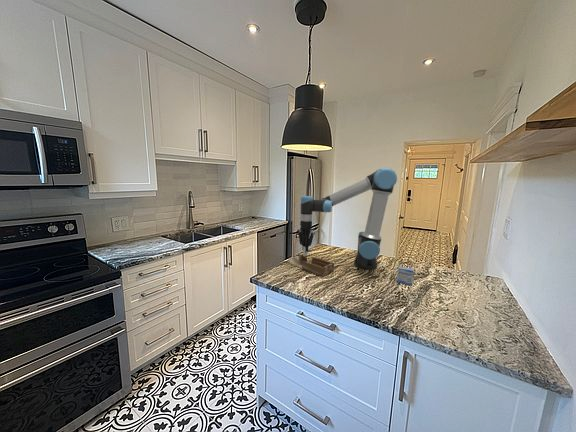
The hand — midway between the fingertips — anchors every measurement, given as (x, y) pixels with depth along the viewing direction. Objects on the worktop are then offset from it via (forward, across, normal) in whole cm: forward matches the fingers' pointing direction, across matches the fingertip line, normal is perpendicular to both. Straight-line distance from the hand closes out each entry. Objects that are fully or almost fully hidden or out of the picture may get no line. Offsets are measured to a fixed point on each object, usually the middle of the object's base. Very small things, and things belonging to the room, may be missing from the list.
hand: (305, 255), depth 160 cm
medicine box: (+8, +56, +20) cm, 60 cm away
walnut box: (+8, +10, 0) cm, 13 cm away
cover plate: (+6, -6, +1) cm, 9 cm away
